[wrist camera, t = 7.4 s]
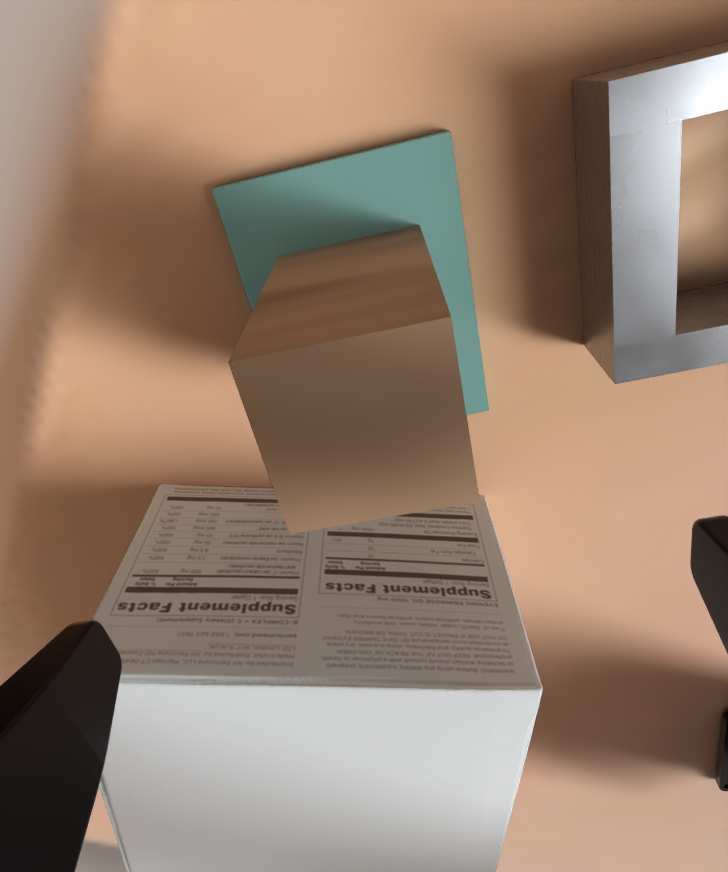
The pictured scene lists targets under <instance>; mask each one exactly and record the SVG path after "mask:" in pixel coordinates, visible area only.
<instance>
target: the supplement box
mask: <svg viewBox="0 0 728 872" xmlns="http://www.w3.org/2000/svg"><path fill="white" fill-rule="evenodd" d="M479 501H480V502H475V503H469V504H463V505H457V506H451V507H445V508H440V509H434V510H428V511H422V512H416V513H410V514H405V515H399V516H393V517H387V518H381V519H375V520H370V521H364V522H358V523H352V524H346V525H340V526H334V527H329V528H323V529H317V530H311V531H305V532H299V533H294V534H289V531H288V529H287V526H286V523H285V520H284V517H283V515H282V512H281V509H280V506H279V503H278V501H277V498H276V495H275V492H274V489H273V488H247V487H218V486H188V485H173V484H161V485H160V486H159V487H158V489H157V491H156V493H155V496H154V498H153V500H152V502H151V504H150V506H149V508H148V510H147V512H146V514H145V516H144V518H143V520H142V522H141V524H140V526H139V528H138V530H137V532H136V534H135V536H134V538H133V540H132V542H131V544H130V546H129V548H128V550H127V552H126V554H125V556H124V558H123V560H122V562H121V564H120V566H119V568H118V570H117V572H116V574H115V576H114V578H113V580H112V582H111V584H110V586H109V588H108V590H107V592H106V594H105V596H104V598H103V600H102V602H101V604H100V605H99V607H98V609H97V611H96V613H95V615H94V617H93V619H92V620H96V621H98V622H99V623H101V624H102V626H103V627H104V629H105V631H106V632H107V634H108V635H109V637H110V639H111V640H112V642H113V643H114V645H115V647H116V648H117V650H118V652H119V654H120V657H121V661H122V670H121V676H120V682H119V688H118V693H117V699H116V705H115V710H114V716H113V722H112V727H111V733H110V739H109V744H108V750H107V755H106V759H105V764H104V768H103V772H102V776H101V780H100V784H99V787H100V791H101V793H102V796H103V799H104V802H105V805H106V808H107V811H108V814H109V817H110V820H111V824H112V827H113V829H114V832H115V835H116V838H117V842H118V845H119V848H120V851H121V855H122V858H123V861H124V864H125V867H126V870H127V872H496V868H497V864H498V861H499V857H500V853H501V849H502V845H503V841H504V838H505V834H506V830H507V826H508V822H509V818H510V814H511V811H512V807H513V803H514V800H515V796H516V792H517V789H518V785H519V781H520V777H521V774H522V770H523V766H524V762H525V758H526V755H527V751H528V747H529V743H530V739H531V736H532V731H533V727H534V723H535V719H536V715H537V711H538V707H539V703H540V699H541V695H542V689H543V687H542V684H541V681H540V678H539V675H538V671H537V668H536V665H535V661H534V658H533V654H532V650H531V647H530V643H529V640H528V637H527V633H526V630H525V627H524V623H523V620H522V617H521V613H520V610H519V607H518V603H517V600H516V596H515V593H514V590H513V587H512V583H511V580H510V576H509V573H508V570H507V567H506V563H505V559H504V556H503V553H502V549H501V546H500V543H499V540H498V536H497V533H496V530H495V526H494V523H493V520H492V517H491V514H490V511H489V507H488V504H487V500H486V497H485V496H483V495H479Z"/></svg>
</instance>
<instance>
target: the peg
mask: <svg viewBox="0 0 728 872" xmlns="http://www.w3.org/2000/svg"><path fill="white" fill-rule="evenodd" d="M228 363H229V366H230V369H231V371H232V374H233V377H234V380H235V383H236V385H237V388H238V391H239V394H240V397H241V399H242V402H243V405H244V408H245V411H246V414H247V416H248V419H249V422H250V425H251V428H252V430H253V433H254V436H255V439H256V442H257V444H258V447H259V450H260V453H261V456H262V458H263V461H264V464H265V467H266V470H267V472H268V475H269V478H270V481H271V484H272V487H273V489H274V492H275V495H276V498H277V501H278V503H279V506H280V509H281V512H282V515H283V517H284V520H285V523H286V526H287V529H288V531H289V534H294V533H299V532H305V531H311V530H317V529H323V528H329V527H334V526H340V525H346V524H352V523H358V522H364V521H370V520H375V519H381V518H387V517H393V516H399V515H405V514H410V513H416V512H422V511H428V510H434V509H440V508H445V507H451V506H457V505H463V504H469V503H475V502H480V501H479V494H478V488H477V481H476V475H475V468H474V461H473V455H472V448H471V442H470V435H469V429H468V422H467V416H466V409H465V403H464V396H463V390H462V383H461V377H460V370H459V364H458V357H457V351H456V344H455V337H454V331H453V324H452V318H451V314H450V312H449V309H448V306H447V303H446V300H445V297H444V294H443V291H442V288H441V285H440V283H439V280H438V277H437V274H436V271H435V268H434V265H433V262H432V259H431V256H430V254H429V251H428V248H427V245H426V242H425V239H424V236H423V233H422V230H421V227H420V225H417V226H412V227H408V228H403V229H399V230H394V231H390V232H385V233H381V234H376V235H372V236H367V237H363V238H358V239H354V240H349V241H345V242H340V243H336V244H332V245H327V246H323V247H318V248H314V249H309V250H305V251H300V252H296V253H291V254H287V255H282V256H278V257H277V259H276V261H275V264H274V266H273V268H272V270H271V272H270V274H269V276H268V279H267V281H266V283H265V285H264V287H263V289H262V291H261V294H260V296H259V298H258V300H257V302H256V304H255V306H254V309H253V311H252V313H251V315H250V317H249V319H248V321H247V324H246V326H245V328H244V330H243V332H242V334H241V336H240V339H239V341H238V343H237V345H236V347H235V349H234V352H233V354H232V356H231V358H230V360H229V362H228Z"/></svg>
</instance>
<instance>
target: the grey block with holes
mask: <svg viewBox="0 0 728 872" xmlns="http://www.w3.org/2000/svg"><path fill="white" fill-rule="evenodd" d="M572 91H573V112H574V133H575V154H576V176H577V197H578V218H579V240H580V261H581V282H582V303H583V325H584V346H585V347H586V348H587V349H588V351H589V352H590V353H591V354H592V356H593V357H594V358H595V359H596V361H597V362H598V363H599V364H600V366H601V367H602V368H603V370H604V371H605V372H606V373H607V375H608V376H609V377H610V378H611V380H612V381H613V382H614V383H615V384H618V383H624V382H629V381H634V380H639V379H645V378H650V377H655V376H660V375H665V374H671V373H676V372H681V371H686V370H691V369H697V368H702V367H707V366H712V365H717V364H723V363H728V282H727V283H722V284H717V285H712V286H708V287H703V288H698V289H693V290H688V291H683V292H678V293H677V267H678V235H679V204H680V172H681V140H682V120H685V119H689V118H693V117H697V116H701V115H706V114H710V113H714V112H718V111H723V110H727V109H728V41H726V42H722V43H718V44H714V45H710V46H706V47H702V48H698V49H694V50H690V51H686V52H682V53H678V54H674V55H670V56H666V57H661V58H657V59H653V60H649V61H645V62H641V63H637V64H633V65H629V66H625V67H621V68H617V69H613V70H609V71H605V72H601V73H597V74H593V75H589V76H585V77H581V78H577V79H573V80H572Z"/></svg>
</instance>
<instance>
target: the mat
mask: <svg viewBox="0 0 728 872" xmlns="http://www.w3.org/2000/svg"><path fill="white" fill-rule="evenodd" d="M212 192H213V195H214V198H215V201H216V204H217V207H218V210H219V214H220V217H221V220H222V223H223V226H224V229H225V232H226V235H227V238H228V241H229V244H230V247H231V250H232V253H233V256H234V259H235V262H236V266H237V269H238V272H239V275H240V278H241V281H242V284H243V287H244V290H245V293H246V296H247V299H248V302H249V305H250V308H251V311H253V309H254V306H255V304H256V302H257V300H258V298H259V296H260V294H261V291H262V289H263V287H264V285H265V283H266V281H267V279H268V276H269V274H270V272H271V270H272V268H273V266H274V264H275V261H276V259H277V257H278V256H282V255H287V254H291V253H296V252H300V251H305V250H309V249H314V248H318V247H323V246H327V245H332V244H336V243H340V242H345V241H349V240H354V239H358V238H363V237H367V236H372V235H376V234H381V233H385V232H390V231H394V230H399V229H403V228H408V227H412V226H417V225H420V227H421V230H422V233H423V236H424V239H425V242H426V245H427V248H428V251H429V254H430V256H431V259H432V262H433V265H434V268H435V271H436V274H437V277H438V280H439V283H440V285H441V288H442V291H443V294H444V297H445V300H446V303H447V306H448V309H449V312H450V314H451V318H452V324H453V331H454V337H455V344H456V351H457V357H458V364H459V370H460V377H461V383H462V390H463V396H464V403H465V409H466V415H468V414H473V413H478V412H483V411H489V407H488V400H487V393H486V386H485V378H484V371H483V364H482V357H481V349H480V342H479V335H478V327H477V320H476V313H475V306H474V298H473V291H472V284H471V277H470V269H469V262H468V255H467V248H466V240H465V233H464V226H463V219H462V211H461V204H460V197H459V190H458V182H457V175H456V168H455V161H454V153H453V146H452V139H451V132H450V131H449V130H447V131H443V132H439V133H435V134H431V135H427V136H422V137H418V138H414V139H410V140H406V141H402V142H398V143H394V144H390V145H386V146H381V147H377V148H373V149H369V150H365V151H361V152H357V153H353V154H349V155H345V156H340V157H336V158H332V159H328V160H324V161H320V162H316V163H312V164H308V165H304V166H299V167H295V168H291V169H287V170H283V171H279V172H275V173H271V174H267V175H263V176H258V177H254V178H250V179H246V180H242V181H238V182H234V183H230V184H226V185H222V186H217V187H215V188H213V189H212Z"/></svg>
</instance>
